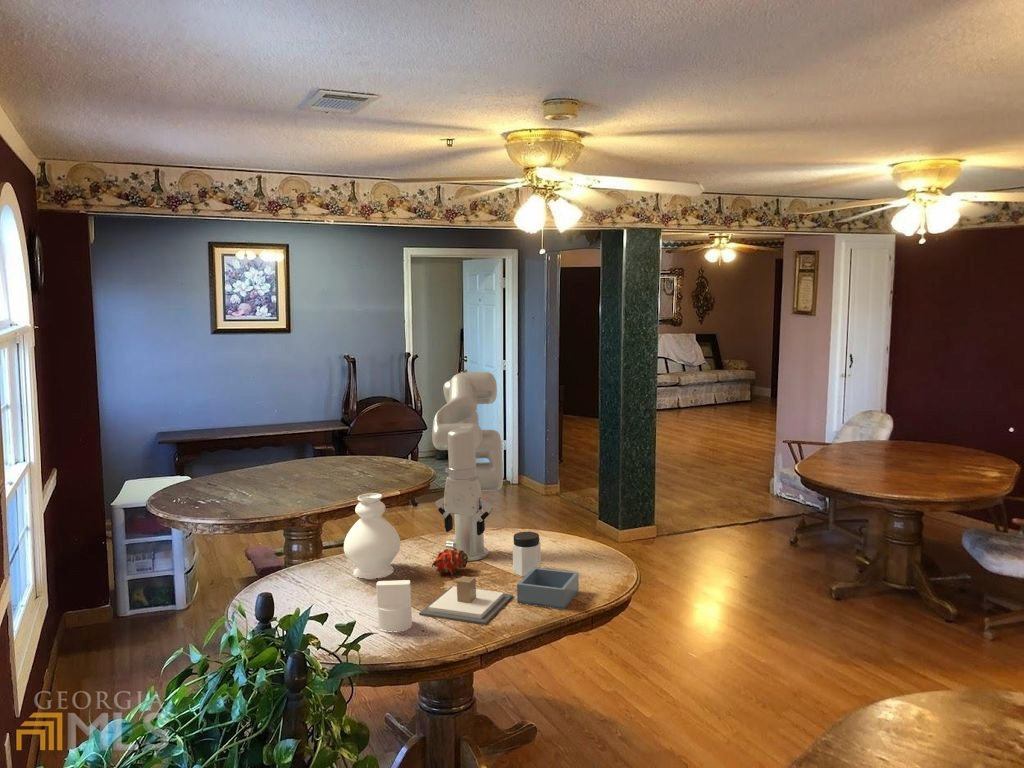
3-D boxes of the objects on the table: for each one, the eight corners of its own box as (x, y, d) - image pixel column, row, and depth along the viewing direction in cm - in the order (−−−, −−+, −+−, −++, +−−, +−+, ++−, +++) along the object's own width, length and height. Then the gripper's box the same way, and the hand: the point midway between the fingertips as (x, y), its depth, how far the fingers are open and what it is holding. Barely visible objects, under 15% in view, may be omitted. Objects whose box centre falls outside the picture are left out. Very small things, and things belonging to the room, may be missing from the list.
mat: (419, 615, 218) (419, 612, 218) (451, 588, 237) (450, 586, 237) (485, 624, 211) (485, 622, 211) (512, 596, 230) (512, 594, 229)
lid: (428, 611, 219) (427, 586, 219) (453, 590, 234) (453, 566, 233) (481, 618, 214) (480, 593, 213) (503, 596, 228) (502, 572, 227)
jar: (546, 572, 248) (545, 535, 247) (526, 579, 243) (525, 541, 242) (527, 565, 255) (527, 529, 254) (508, 571, 250) (507, 534, 248)
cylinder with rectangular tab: (413, 617, 217) (411, 575, 215) (410, 632, 208) (408, 588, 206) (380, 619, 217) (378, 577, 215) (376, 633, 208) (374, 589, 206)
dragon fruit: (472, 575, 252) (436, 586, 248) (463, 553, 258) (428, 564, 254) (472, 560, 246) (435, 571, 242) (464, 538, 252) (427, 548, 248)
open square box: (517, 604, 225) (516, 584, 224) (534, 586, 238) (533, 567, 237) (564, 610, 220) (563, 589, 219) (578, 592, 233) (578, 572, 232)
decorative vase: (407, 576, 248) (404, 499, 244) (350, 586, 241) (346, 506, 238) (394, 559, 264) (391, 486, 261) (340, 567, 258) (336, 493, 254)
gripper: (428, 474, 219) (431, 533, 221) (485, 478, 213) (487, 539, 215) (440, 467, 226) (443, 525, 228) (496, 471, 220) (498, 531, 222)
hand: (464, 532), depth 222 cm, fingers open, 9 cm apart
